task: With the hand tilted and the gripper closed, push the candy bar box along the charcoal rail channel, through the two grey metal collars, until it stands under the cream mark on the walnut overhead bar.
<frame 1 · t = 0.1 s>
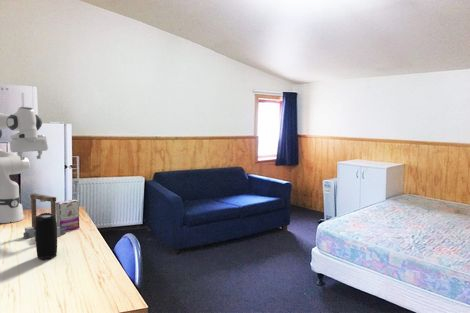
hand: (30, 159, 206), 39 cm above the table, tool pointing down, fingers open, 8 cm apart
portable speaker: (47, 257, 163), on the table
candy bar box: (68, 230, 204), on the table
aperture gantry: (44, 236, 192), on the table
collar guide: (44, 236, 192), on the table
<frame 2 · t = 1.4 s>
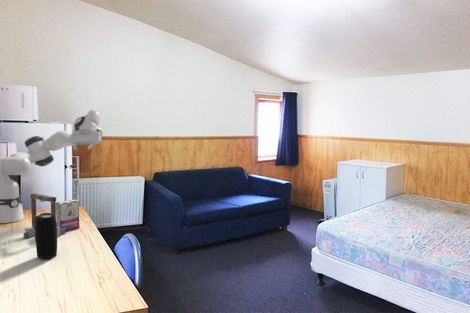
hand: (81, 148, 223), 44 cm above the table, tool tilted 40°, fingers open, 8 cm apart
nothing on the table moved.
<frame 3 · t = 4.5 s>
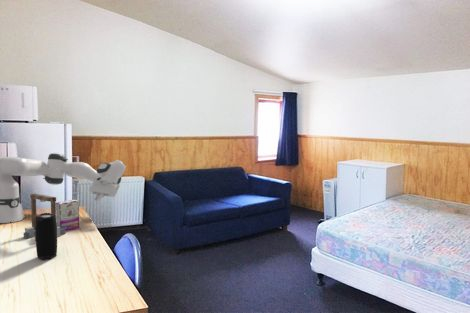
hand: (96, 200, 220), 13 cm above the table, tool tilted 45°, fingers closed
nothing on the table moved.
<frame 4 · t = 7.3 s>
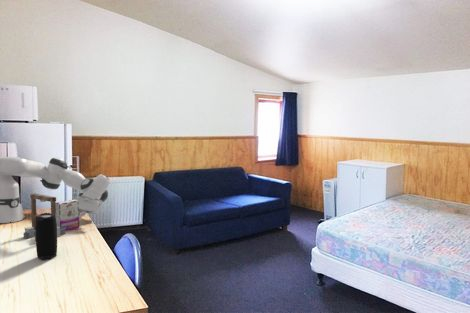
hand: (77, 217, 209), 6 cm above the table, tool tilted 45°, fingers closed
candy bar box: (67, 230, 204), on the table, touching gripper
everything else where it was.
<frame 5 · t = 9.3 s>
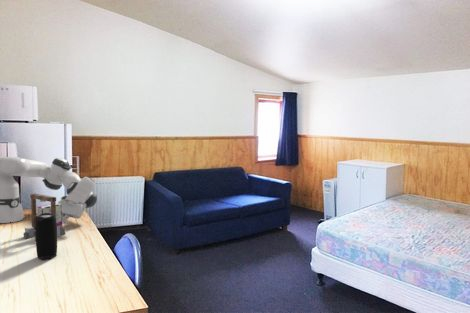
hand: (60, 222, 199), 6 cm above the table, tool tilted 45°, fingers closed, pressing on candy bar box
candy bar box: (50, 235, 194), on the table, touching gripper
everything else where it was.
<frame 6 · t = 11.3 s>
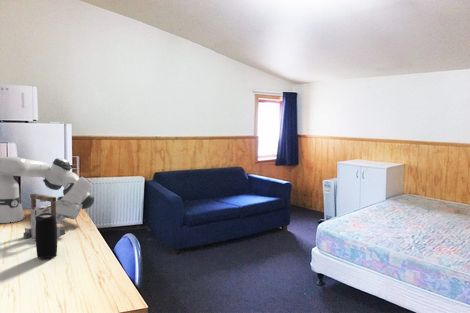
hand: (55, 222, 197), 6 cm above the table, tool tilted 45°, fingers closed
candy bar box: (44, 237, 191), on the table
everything else where it was.
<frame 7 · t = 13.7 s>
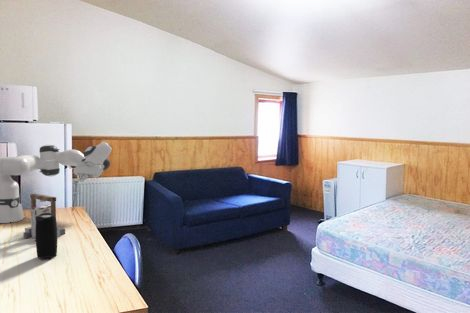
hand: (80, 181, 216), 26 cm above the table, tool tilted 45°, fingers closed
nothing on the table moved.
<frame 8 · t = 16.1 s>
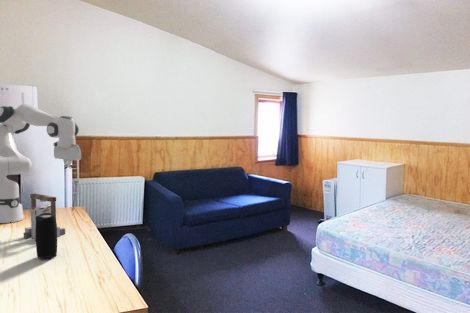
hand: (67, 167, 214), 34 cm above the table, tool pointing down, fingers closed
nothing on the table moved.
at the end: candy bar box 0.2 cm from the target spot, on the table; candy bar box tilted 0° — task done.
